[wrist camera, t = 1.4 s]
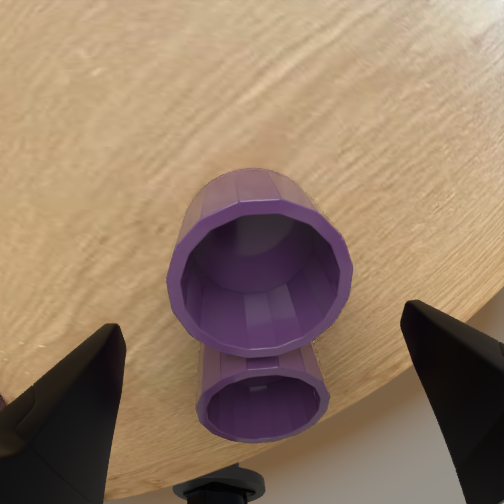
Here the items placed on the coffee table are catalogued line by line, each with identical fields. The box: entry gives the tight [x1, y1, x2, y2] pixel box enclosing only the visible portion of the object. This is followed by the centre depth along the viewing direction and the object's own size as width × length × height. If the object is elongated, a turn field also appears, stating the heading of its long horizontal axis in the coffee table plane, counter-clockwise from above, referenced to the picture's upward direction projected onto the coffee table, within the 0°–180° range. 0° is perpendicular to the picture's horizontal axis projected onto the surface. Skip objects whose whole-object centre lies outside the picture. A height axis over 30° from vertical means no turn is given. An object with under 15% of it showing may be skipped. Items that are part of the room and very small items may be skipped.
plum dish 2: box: [196, 341, 330, 443], centre depth 16 cm, size 6×6×5 cm
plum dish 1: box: [166, 168, 353, 358], centre depth 13 cm, size 6×6×5 cm
